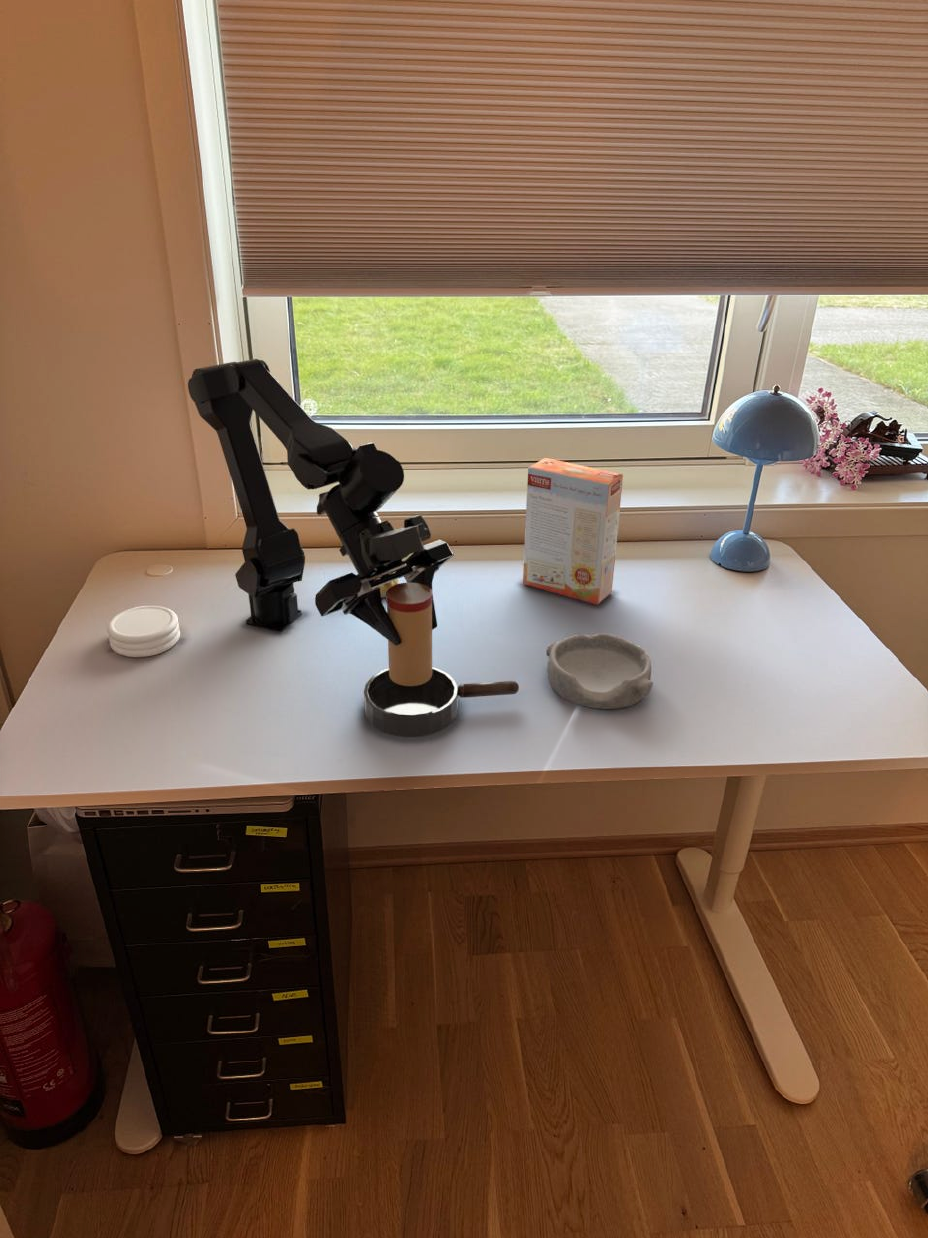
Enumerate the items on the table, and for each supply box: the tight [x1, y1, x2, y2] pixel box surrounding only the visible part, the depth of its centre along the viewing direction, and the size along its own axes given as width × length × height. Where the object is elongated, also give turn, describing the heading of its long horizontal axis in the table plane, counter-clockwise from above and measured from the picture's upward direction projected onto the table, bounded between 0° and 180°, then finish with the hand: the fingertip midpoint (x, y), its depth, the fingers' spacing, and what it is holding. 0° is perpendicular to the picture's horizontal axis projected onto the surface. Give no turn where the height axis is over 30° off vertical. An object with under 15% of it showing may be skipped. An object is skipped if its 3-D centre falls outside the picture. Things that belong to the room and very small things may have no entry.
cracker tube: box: [385, 582, 433, 686], centre depth 117 cm, size 6×6×12 cm
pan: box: [363, 666, 459, 738], centre depth 123 cm, size 12×12×4 cm
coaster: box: [106, 605, 181, 658], centre depth 137 cm, size 10×10×4 cm
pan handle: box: [457, 680, 520, 699], centre depth 123 cm, size 8×2×2 cm, turn 98°
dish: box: [545, 632, 654, 710], centre depth 128 cm, size 14×14×5 cm
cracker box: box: [522, 457, 624, 606], centre depth 149 cm, size 14×6×21 cm, turn 58°
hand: (416, 636), depth 116 cm, fingers closed on cracker tube, 5 cm apart
